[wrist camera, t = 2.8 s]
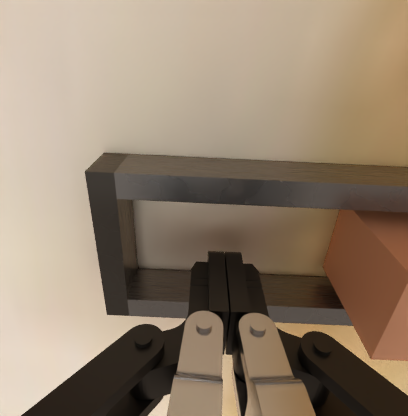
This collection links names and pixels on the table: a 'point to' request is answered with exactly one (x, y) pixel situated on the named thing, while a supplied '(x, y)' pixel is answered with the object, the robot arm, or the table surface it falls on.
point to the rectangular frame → (224, 194)
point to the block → (373, 278)
